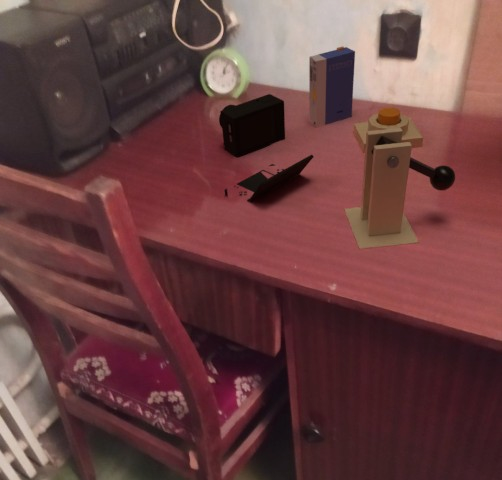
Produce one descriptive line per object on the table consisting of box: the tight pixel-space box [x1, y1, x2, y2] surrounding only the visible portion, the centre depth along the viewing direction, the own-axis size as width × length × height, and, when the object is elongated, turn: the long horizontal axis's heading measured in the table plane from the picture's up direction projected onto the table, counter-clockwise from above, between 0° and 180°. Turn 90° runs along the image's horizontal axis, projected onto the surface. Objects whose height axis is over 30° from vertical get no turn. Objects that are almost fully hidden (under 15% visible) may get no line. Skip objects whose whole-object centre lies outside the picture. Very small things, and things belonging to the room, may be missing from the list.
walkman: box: [308, 45, 356, 128], centre depth 104 cm, size 8×3×12 cm, turn 117°
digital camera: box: [218, 93, 286, 158], centre depth 101 cm, size 10×5×7 cm, turn 124°
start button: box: [378, 107, 401, 126], centre depth 99 cm, size 4×4×2 cm
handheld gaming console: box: [224, 154, 314, 203], centre depth 90 cm, size 12×7×10 cm
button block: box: [353, 112, 424, 154], centre depth 100 cm, size 10×8×4 cm
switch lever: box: [371, 136, 456, 191], centre depth 75 cm, size 12×3×3 cm
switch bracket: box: [343, 128, 420, 250], centre depth 77 cm, size 8×10×14 cm
